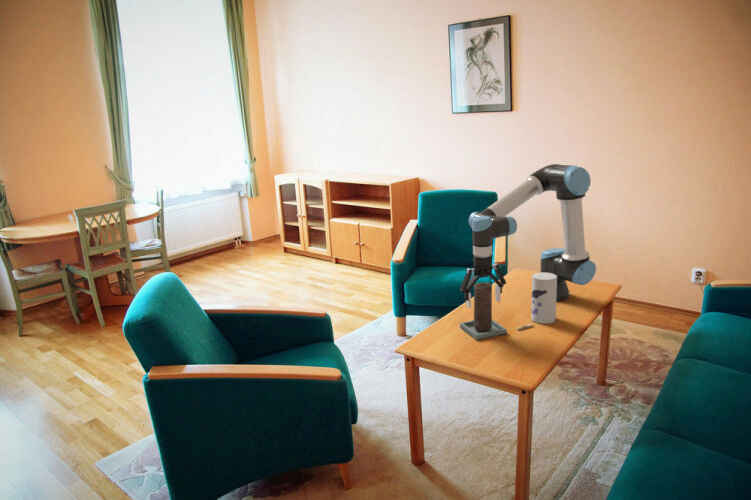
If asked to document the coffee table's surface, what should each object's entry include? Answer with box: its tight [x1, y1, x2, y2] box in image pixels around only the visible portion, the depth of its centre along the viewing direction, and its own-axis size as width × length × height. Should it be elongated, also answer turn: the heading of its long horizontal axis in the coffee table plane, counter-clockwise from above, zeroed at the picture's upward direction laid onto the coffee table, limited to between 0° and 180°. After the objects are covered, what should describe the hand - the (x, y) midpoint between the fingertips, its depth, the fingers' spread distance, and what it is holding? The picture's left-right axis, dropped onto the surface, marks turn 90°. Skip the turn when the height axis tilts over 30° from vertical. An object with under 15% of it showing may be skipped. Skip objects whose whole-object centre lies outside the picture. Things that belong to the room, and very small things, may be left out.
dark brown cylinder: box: [473, 282, 493, 331], centre depth 217 cm, size 8×7×20 cm
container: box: [530, 272, 557, 325], centre depth 225 cm, size 10×10×20 cm
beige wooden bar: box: [515, 323, 534, 331], centre depth 220 cm, size 8×1×1 cm, turn 115°
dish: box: [459, 319, 508, 341], centre depth 219 cm, size 14×14×2 cm
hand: (483, 304), depth 217 cm, fingers open, 13 cm apart
